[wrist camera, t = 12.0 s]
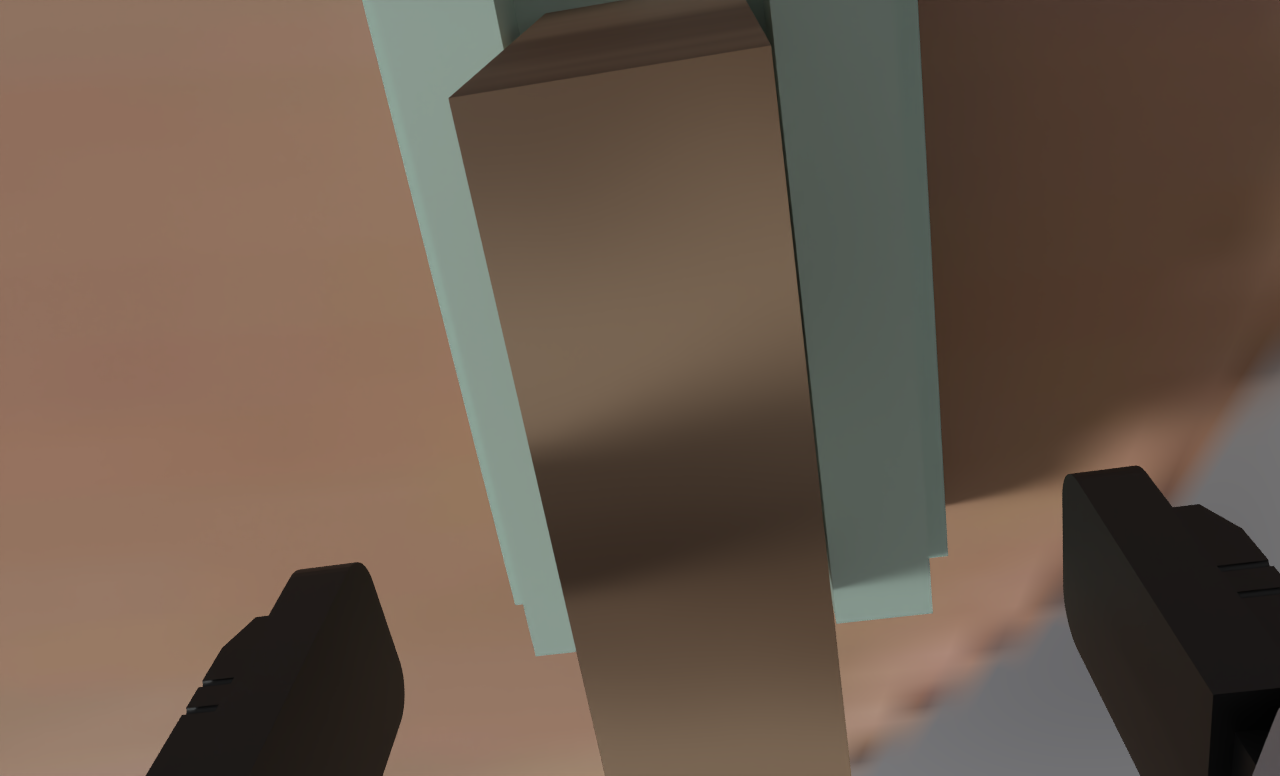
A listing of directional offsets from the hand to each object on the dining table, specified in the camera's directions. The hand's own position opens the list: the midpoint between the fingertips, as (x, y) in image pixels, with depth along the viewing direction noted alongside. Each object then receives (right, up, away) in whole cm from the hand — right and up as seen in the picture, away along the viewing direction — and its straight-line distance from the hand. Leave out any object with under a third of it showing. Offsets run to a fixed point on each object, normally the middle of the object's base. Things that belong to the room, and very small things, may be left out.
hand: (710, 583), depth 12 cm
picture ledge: (0, +5, +11) cm, 12 cm away
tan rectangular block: (0, +4, +10) cm, 10 cm away
